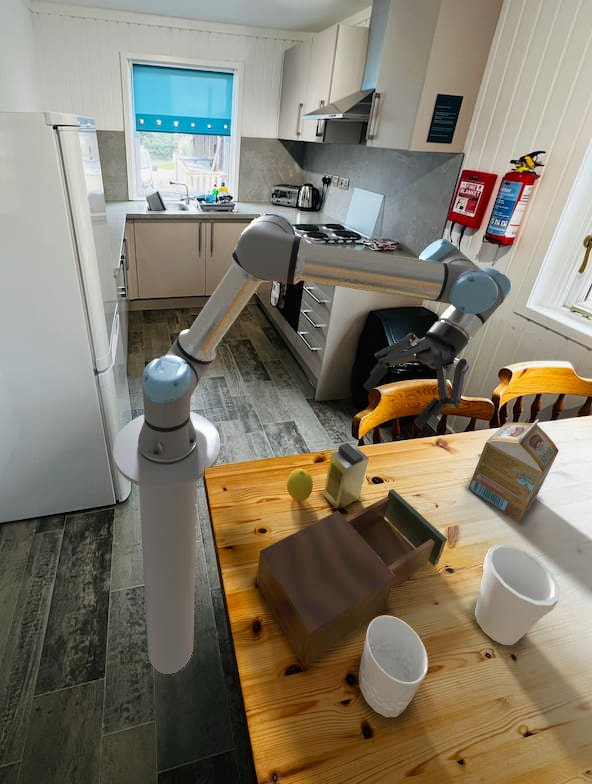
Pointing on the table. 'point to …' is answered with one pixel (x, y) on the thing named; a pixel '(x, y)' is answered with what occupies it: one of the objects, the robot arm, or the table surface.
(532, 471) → the milk carton
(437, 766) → the table surface
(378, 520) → the drawer
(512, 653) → the table surface
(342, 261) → the robot arm
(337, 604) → the cabinet
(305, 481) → the lemon
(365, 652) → the white cup
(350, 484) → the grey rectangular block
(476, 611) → the foam cup
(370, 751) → the table surface
